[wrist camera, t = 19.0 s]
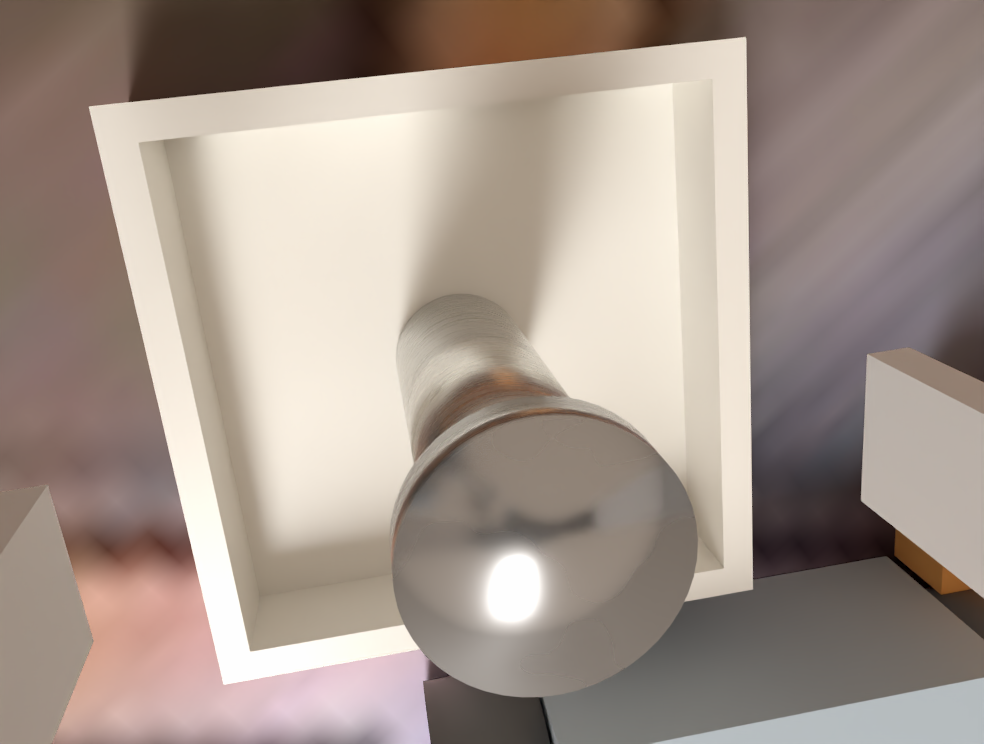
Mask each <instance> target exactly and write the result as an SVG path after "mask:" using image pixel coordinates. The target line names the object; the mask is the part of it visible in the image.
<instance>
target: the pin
mask: <svg viewBox="0 0 984 744" xmlns="http://www.w3.org/2000/svg"><path fill="white" fill-rule="evenodd" d="M396 367H397V373H398V378H399V384H400V390H401V395H402V401H403V407H404V412H405V418H406V424H407V429H408V435H409V441H410V446H411V452H412V458H413V463H414V465H413V466H412V468H411V469H410V471H409V473H408V475H407V476H406V478H405V480H404V482H403V484H402V486H401V488H400V491H399V493H398V496H397V499H396V501H395V504H394V509H393V513H392V518H391V524H390V537H389V541H390V555H391V566H392V577H393V588H394V594H395V598H396V603H397V607H398V610H399V613H400V615H401V618H402V620H403V623H404V625H405V627H406V629H407V631H408V632H409V634H410V636H411V637H412V639H413V641H414V642H415V643H416V645H417V646H418V647H419V648H420V650H421V651H422V652H423V653H424V654H425V655H426V656H427V657H428V658H429V659H430V660H431V661H432V662H433V663H434V664H435V665H436V666H437V667H439V668H440V669H442V670H443V671H444V672H446V673H447V674H449V675H450V676H452V677H453V678H455V679H457V680H459V681H461V682H463V683H465V684H467V685H469V686H472V687H475V688H478V689H480V690H483V691H486V692H491V693H495V694H499V695H504V696H514V697H545V696H553V695H561V694H565V693H569V692H573V691H577V690H581V689H583V688H586V687H589V686H592V685H594V684H597V683H599V682H601V681H603V680H605V679H607V678H609V677H612V676H614V675H615V674H617V673H619V672H620V671H622V670H623V669H625V668H626V667H628V666H630V665H631V664H632V663H634V662H635V661H636V660H637V659H639V658H640V657H641V656H642V655H644V654H645V653H646V652H647V651H648V650H649V649H650V648H651V647H652V646H653V645H654V644H655V643H656V642H657V641H658V640H659V639H660V638H661V637H662V635H663V634H664V633H665V632H666V630H667V629H668V628H669V627H670V625H671V624H672V622H673V621H674V619H675V618H676V616H677V614H678V613H679V611H680V610H681V608H682V605H683V603H684V601H685V599H686V597H687V595H688V592H689V589H690V586H691V583H692V580H693V577H694V573H695V567H696V562H697V551H698V535H697V525H696V520H695V516H694V512H693V508H692V504H691V502H690V499H689V497H688V495H687V492H686V490H685V488H684V486H683V485H682V483H681V481H680V480H679V478H678V476H677V475H676V473H675V472H674V471H673V470H672V468H671V467H670V466H669V465H668V464H667V462H666V461H665V460H664V459H663V458H662V456H661V455H660V454H659V453H658V452H657V451H656V450H655V448H654V447H653V446H652V445H651V444H650V443H649V441H648V440H647V439H646V438H645V437H644V436H643V435H642V434H641V433H640V432H639V431H638V430H637V429H636V428H635V427H634V426H632V425H631V424H630V423H629V422H627V421H626V420H624V419H623V418H621V417H620V416H618V415H617V414H615V413H613V412H611V411H609V410H607V409H605V408H603V407H601V406H598V405H595V404H592V403H589V402H586V401H583V400H579V399H573V398H570V397H569V396H568V394H567V393H566V392H565V390H564V389H563V388H562V386H561V385H560V383H559V382H558V381H557V379H556V378H555V377H554V375H553V374H552V372H551V371H550V370H549V368H548V367H547V366H546V364H545V363H544V361H543V360H542V359H541V357H540V356H539V355H538V353H537V352H536V350H535V349H534V348H533V346H532V345H531V344H530V342H529V341H528V339H527V338H526V337H525V335H524V334H523V333H522V331H521V330H520V328H519V327H518V326H517V324H516V323H515V322H514V320H513V319H512V318H511V316H510V315H509V314H508V313H507V312H506V311H505V310H504V309H503V308H502V307H500V306H499V305H497V304H496V303H494V302H493V301H491V300H488V299H486V298H483V297H480V296H477V295H472V294H452V295H447V296H443V297H440V298H437V299H435V300H433V301H431V302H429V303H427V304H426V305H424V306H423V307H421V308H420V309H419V310H418V311H417V312H415V313H414V315H413V316H412V317H411V318H410V319H409V320H408V322H407V323H406V325H405V326H404V328H403V330H402V332H401V334H400V337H399V340H398V344H397V348H396Z"/></svg>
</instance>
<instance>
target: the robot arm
mask: <svg viewBox="0 0 984 744" xmlns="http://www.w3.org/2000/svg"><path fill="white" fill-rule="evenodd" d="M861 501H862V502H863V503H864V504H866V505H867V506H868V507H869V508H871V509H872V510H873V511H874V512H876V513H877V514H878V515H879V516H881V517H882V518H883V519H884V520H886V521H887V522H888V523H889V524H891V525H892V526H893V527H895V528H896V529H897V530H898V531H900V532H901V533H902V534H903V535H905V536H906V537H907V538H908V539H910V540H911V541H912V542H913V543H915V544H916V545H917V546H918V547H920V548H921V549H922V550H923V551H925V552H926V553H927V554H929V555H930V556H931V557H932V558H934V559H935V560H936V561H937V562H939V563H940V564H941V565H942V566H944V567H945V568H946V569H947V570H949V571H950V572H951V573H952V574H954V575H955V576H956V577H957V578H959V579H960V580H961V581H962V582H964V583H965V584H966V585H968V586H969V587H970V588H971V589H973V590H974V591H975V592H976V593H978V594H979V595H980V596H981V597H983V598H984V382H982V381H980V380H978V379H976V378H973V377H971V376H969V375H967V374H965V373H963V372H961V371H958V370H956V369H954V368H952V367H950V366H948V365H946V364H943V363H941V362H939V361H937V360H935V359H933V358H931V357H928V356H926V355H924V354H922V353H920V352H918V351H916V350H913V349H911V348H903V349H896V350H890V351H884V352H878V353H871V354H867V371H866V393H865V416H864V439H863V462H862V485H861ZM92 644H93V637H92V634H91V631H90V627H89V624H88V620H87V617H86V614H85V610H84V607H83V603H82V600H81V596H80V593H79V590H78V586H77V583H76V579H75V576H74V573H73V569H72V566H71V562H70V559H69V556H68V552H67V549H66V545H65V542H64V539H63V535H62V532H61V528H60V525H59V522H58V518H57V515H56V511H55V508H54V504H53V501H52V498H51V494H50V491H49V487H48V485H43V486H36V487H30V488H24V489H17V490H11V491H5V492H0V744H52V742H53V739H54V737H55V734H56V732H57V730H58V727H59V725H60V722H61V720H62V717H63V715H64V712H65V710H66V707H67V705H68V703H69V700H70V698H71V695H72V693H73V690H74V688H75V685H76V683H77V680H78V678H79V676H80V673H81V671H82V668H83V666H84V663H85V661H86V658H87V656H88V653H89V651H90V649H91V646H92Z"/></svg>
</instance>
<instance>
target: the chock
mask: <svg viewBox="0 0 984 744" xmlns="http://www.w3.org/2000/svg"><path fill="white" fill-rule="evenodd" d="M894 555H895V556H896V557H897V558H898V559H899V560H900V561H902V562H903V563H904V564H905V565H906V566H908V567H909V568H910V569H911V570H912V571H913V572H915V573H916V574H917V575H918V576H919V577H921V578H922V579H923V580H924V581H925V582H927V583H928V584H929V585H930V586H931V587H932V588H934V589H935V590H936V591H937V592H938V593H940V594H941V595H943V594H948V593H953V592H959V591H964V590H970V589H971V588H970V587H969V586H968V585H966V584H965V583H964V582H962V581H961V580H960V579H959V578H957V577H956V576H955V575H954V574H952V573H951V572H950V571H949V570H947V569H946V568H945V567H944V566H942V565H941V564H940V563H939V562H937V561H936V560H935V559H934V558H932V557H931V556H930V555H929V554H927V553H926V552H925V551H923V550H922V549H921V548H920V547H918V546H917V545H916V544H915V543H913V542H912V541H911V540H910V539H908V538H907V537H906V536H905V535H903V534H902V533H901V532H900V531H898V530H897V529H896V532H895V554H894Z"/></svg>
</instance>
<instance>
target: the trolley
mask: <svg viewBox="0 0 984 744" xmlns="http://www.w3.org/2000/svg"><path fill="white" fill-rule="evenodd" d="M423 685H424V694H425V702H426V710H427V718H428V725H429V733H430V740H431V744H984V598H983V597H981V596H980V595H979V594H978V593H976V592H975V591H974V590H973V589H970V590H964V591H959V592H953V593H948V594H943V595H941V594H940V593H938V592H937V591H936V590H935V589H934V588H928V589H924V588H923V587H922V586H921V585H920V584H919V583H917V582H916V581H915V580H914V579H913V578H912V577H910V576H909V575H908V574H907V573H906V572H905V571H903V570H902V569H901V568H900V567H899V566H898V565H896V564H895V563H894V562H893V561H892V560H891V559H889V558H888V557H887V556H884V557H878V558H873V559H867V560H861V561H856V562H850V563H845V564H839V565H833V566H828V567H822V568H817V569H811V570H805V571H800V572H794V573H789V574H783V575H777V576H772V577H766V578H761V579H755V580H753V590H747V591H742V592H736V593H730V594H725V595H719V596H714V597H708V598H703V599H697V600H692V601H686V602H684V603H683V605H682V608H681V610H680V611H679V613H678V614H677V616H676V618H675V619H674V621H673V622H672V624H671V625H670V627H669V628H668V629H667V630H666V632H665V633H664V634H663V635H662V637H661V638H660V639H659V640H658V641H657V642H656V643H655V644H654V645H653V646H652V647H651V648H650V649H649V650H648V651H647V652H646V653H645V654H644V655H642V656H641V657H640V658H639V659H637V660H636V661H635V662H634V663H632V664H631V665H630V666H628V667H626V668H625V669H623V670H622V671H620V672H619V673H617V674H615V675H614V676H612V677H609V678H607V679H605V680H603V681H601V682H599V683H597V684H594V685H592V686H589V687H586V688H583V689H581V690H577V691H573V692H569V693H565V694H561V695H553V696H545V697H514V696H504V695H499V694H495V693H491V692H486V691H483V690H480V689H478V688H475V687H472V686H469V685H467V684H465V683H463V682H461V681H459V680H457V679H455V678H453V677H452V676H449V677H444V678H438V679H433V680H427V681H423Z"/></svg>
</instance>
